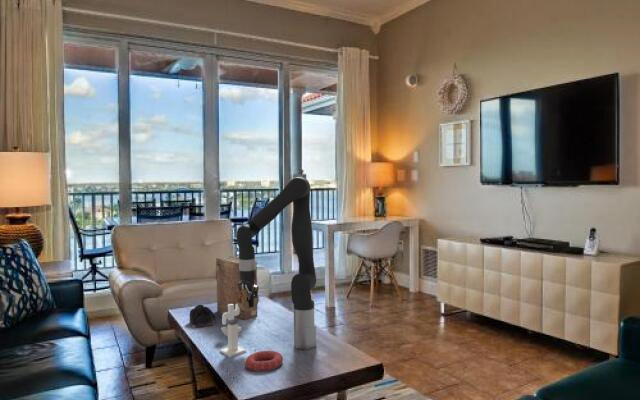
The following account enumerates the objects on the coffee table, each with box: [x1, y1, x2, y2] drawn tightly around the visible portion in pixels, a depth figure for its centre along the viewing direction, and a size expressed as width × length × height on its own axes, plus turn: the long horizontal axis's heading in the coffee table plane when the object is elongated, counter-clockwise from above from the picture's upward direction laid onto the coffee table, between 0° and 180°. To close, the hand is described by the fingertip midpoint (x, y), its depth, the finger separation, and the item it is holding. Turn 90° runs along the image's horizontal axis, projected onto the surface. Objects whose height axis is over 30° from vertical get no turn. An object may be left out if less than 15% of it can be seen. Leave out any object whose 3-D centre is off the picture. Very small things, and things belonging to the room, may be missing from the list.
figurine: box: [220, 304, 243, 337], centre depth 223 cm, size 7×9×15 cm
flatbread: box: [237, 288, 260, 310], centre depth 211 cm, size 10×4×10 cm, turn 129°
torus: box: [244, 350, 284, 372], centre depth 189 cm, size 16×14×4 cm
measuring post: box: [219, 318, 247, 358], centre depth 202 cm, size 8×8×14 cm
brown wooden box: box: [215, 256, 258, 321], centre depth 258 cm, size 25×9×30 cm, turn 45°
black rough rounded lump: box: [188, 304, 217, 328], centre depth 242 cm, size 14×14×10 cm
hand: (248, 306), depth 212 cm, fingers closed on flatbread, 3 cm apart
